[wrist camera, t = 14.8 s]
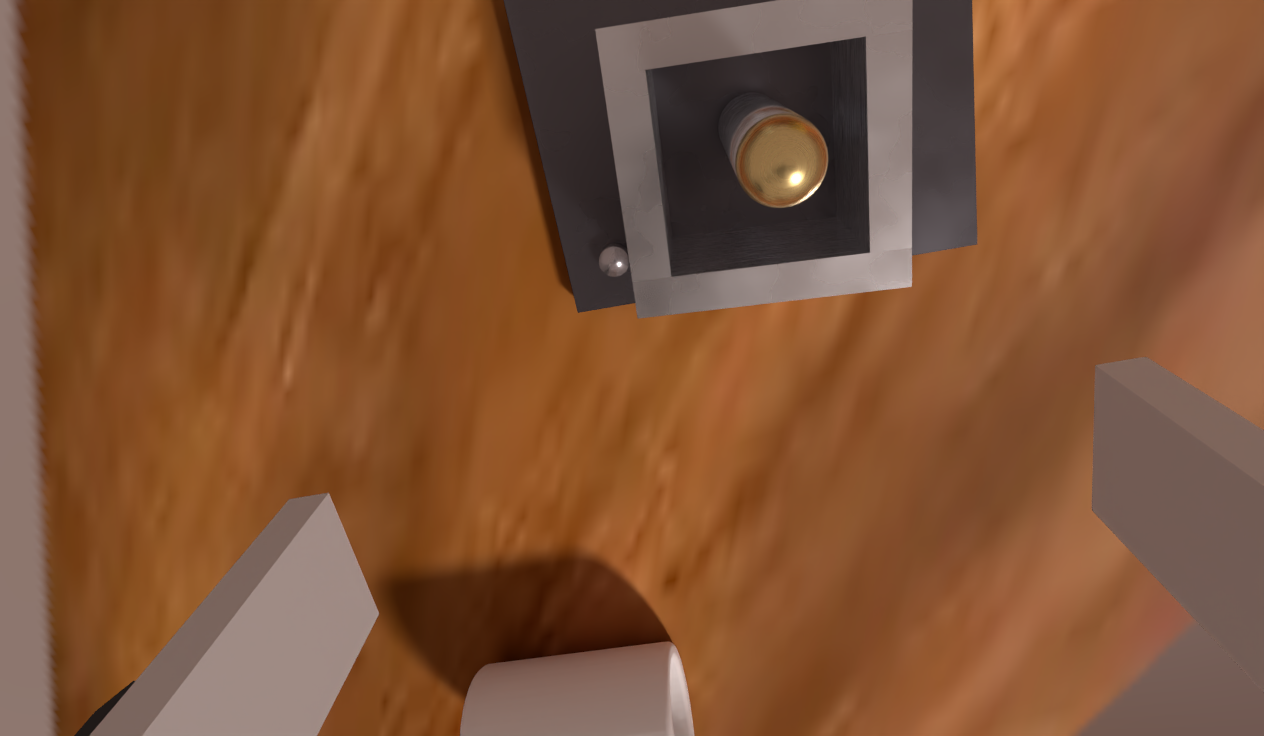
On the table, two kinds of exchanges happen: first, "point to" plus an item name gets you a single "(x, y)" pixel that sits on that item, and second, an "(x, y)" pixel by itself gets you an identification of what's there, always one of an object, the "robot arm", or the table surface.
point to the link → (863, 145)
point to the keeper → (732, 133)
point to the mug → (582, 695)
